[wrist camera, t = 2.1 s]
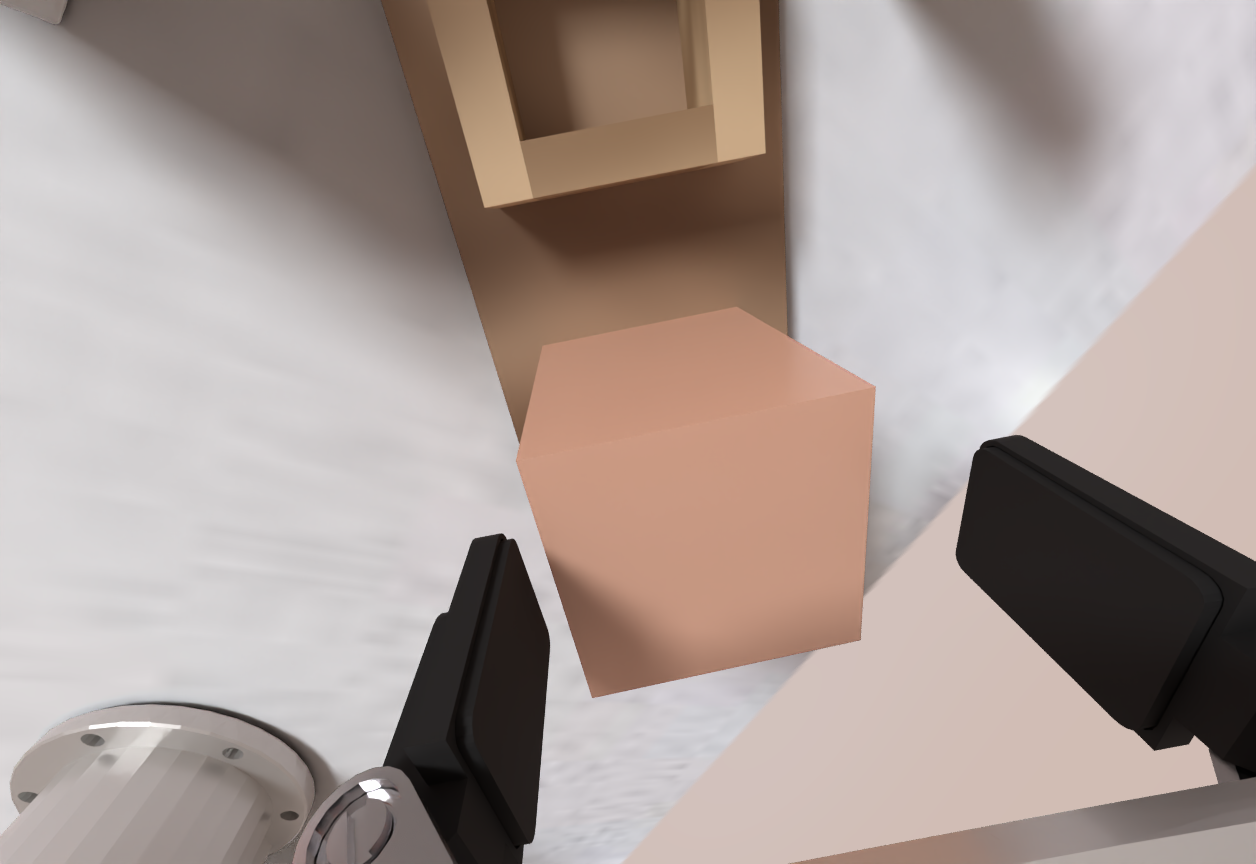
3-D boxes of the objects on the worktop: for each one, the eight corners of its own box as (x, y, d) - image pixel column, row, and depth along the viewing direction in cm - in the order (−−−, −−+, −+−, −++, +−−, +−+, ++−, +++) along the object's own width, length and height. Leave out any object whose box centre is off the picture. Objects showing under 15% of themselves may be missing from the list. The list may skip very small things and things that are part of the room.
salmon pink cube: (749, 473, 19) (860, 640, 11) (584, 508, 18) (592, 698, 11) (737, 306, 16) (876, 387, 8) (542, 345, 16) (516, 460, 8)
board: (779, 455, 20) (879, 574, 13) (545, 504, 20) (531, 648, 13) (755, -156, 12) (970, -591, 5) (365, -85, 12) (110, -450, 5)
